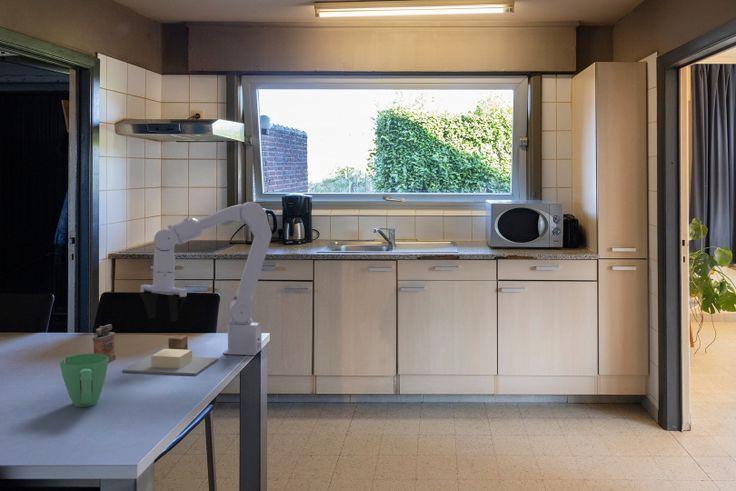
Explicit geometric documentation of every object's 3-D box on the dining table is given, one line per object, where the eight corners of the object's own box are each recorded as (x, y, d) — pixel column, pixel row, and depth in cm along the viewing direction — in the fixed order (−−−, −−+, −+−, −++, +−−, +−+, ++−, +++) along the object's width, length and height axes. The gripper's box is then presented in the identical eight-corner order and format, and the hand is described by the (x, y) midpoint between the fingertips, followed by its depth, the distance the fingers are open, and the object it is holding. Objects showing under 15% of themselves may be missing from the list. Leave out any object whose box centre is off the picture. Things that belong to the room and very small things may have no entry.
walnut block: (187, 352, 194) (187, 335, 193) (182, 356, 190) (181, 338, 189) (174, 352, 194) (174, 335, 194) (168, 355, 190) (168, 338, 190)
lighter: (101, 366, 178) (100, 329, 177) (90, 365, 179) (89, 328, 178) (118, 358, 186) (117, 323, 185) (107, 358, 187) (106, 322, 186)
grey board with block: (218, 360, 185) (218, 347, 185) (196, 375, 169) (195, 361, 169) (150, 357, 188) (150, 344, 188) (122, 372, 172) (122, 358, 172)
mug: (60, 399, 149) (59, 356, 148) (107, 394, 153) (106, 351, 152) (62, 420, 136) (60, 372, 135) (113, 413, 140) (112, 367, 139)
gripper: (133, 270, 186) (132, 318, 187) (176, 275, 181) (174, 324, 182) (150, 268, 192) (149, 315, 193) (192, 273, 187) (190, 320, 188)
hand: (162, 319), depth 188 cm, fingers open, 7 cm apart
